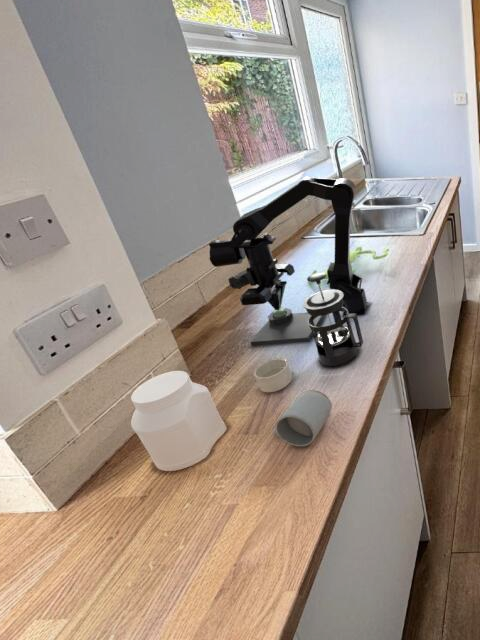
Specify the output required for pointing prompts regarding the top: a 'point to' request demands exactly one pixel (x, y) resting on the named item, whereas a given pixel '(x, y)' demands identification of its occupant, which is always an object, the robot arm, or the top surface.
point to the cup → (273, 375)
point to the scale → (286, 329)
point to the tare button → (279, 312)
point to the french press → (332, 326)
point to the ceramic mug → (304, 418)
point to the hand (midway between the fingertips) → (278, 309)
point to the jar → (175, 420)
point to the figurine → (354, 254)
